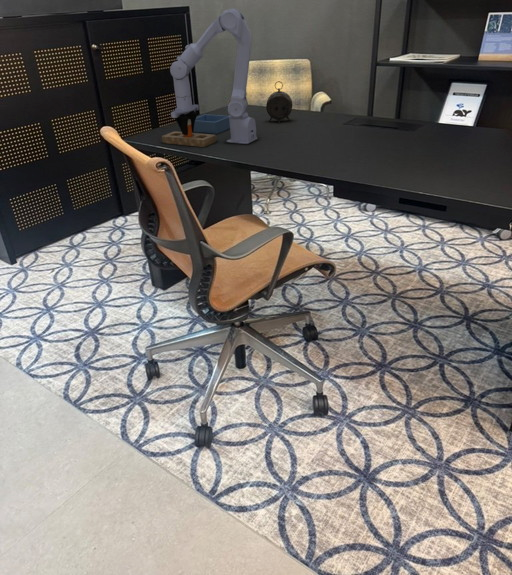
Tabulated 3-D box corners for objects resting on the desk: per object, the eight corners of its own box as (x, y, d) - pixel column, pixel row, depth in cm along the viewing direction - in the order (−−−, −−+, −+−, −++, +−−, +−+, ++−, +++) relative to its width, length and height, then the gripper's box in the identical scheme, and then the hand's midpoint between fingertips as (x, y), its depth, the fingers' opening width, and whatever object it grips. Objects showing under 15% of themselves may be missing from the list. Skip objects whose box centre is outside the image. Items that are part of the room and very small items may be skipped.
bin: (232, 127, 212) (231, 115, 209) (216, 133, 203) (215, 122, 201) (205, 125, 218) (204, 114, 216) (189, 131, 209) (188, 120, 207)
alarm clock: (292, 119, 217) (291, 79, 208) (292, 122, 212) (291, 81, 204) (267, 120, 218) (265, 80, 210) (266, 123, 213) (264, 83, 205)
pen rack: (216, 141, 193) (215, 134, 191) (204, 147, 187) (203, 140, 186) (175, 137, 202) (174, 131, 201) (162, 142, 196) (161, 136, 195)
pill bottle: (195, 141, 195) (192, 119, 190) (190, 143, 192) (187, 121, 188) (188, 140, 196) (185, 118, 192) (183, 143, 194) (180, 120, 190)
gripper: (186, 92, 193) (191, 128, 200) (162, 99, 182) (168, 137, 189) (201, 92, 190) (205, 129, 197) (177, 100, 179) (182, 138, 186)
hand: (188, 133), depth 193 cm, fingers closed on pill bottle, 3 cm apart
